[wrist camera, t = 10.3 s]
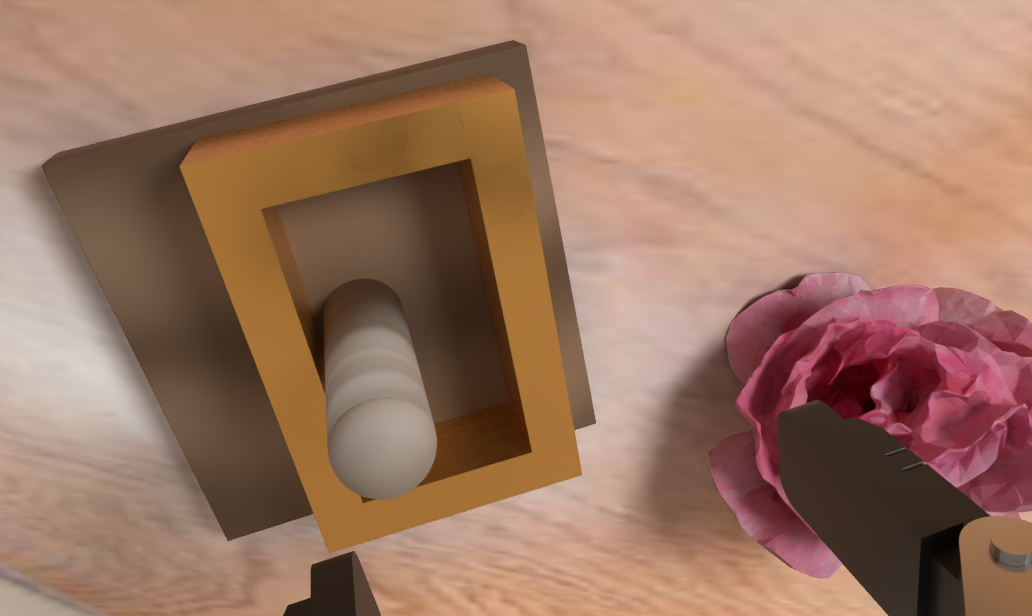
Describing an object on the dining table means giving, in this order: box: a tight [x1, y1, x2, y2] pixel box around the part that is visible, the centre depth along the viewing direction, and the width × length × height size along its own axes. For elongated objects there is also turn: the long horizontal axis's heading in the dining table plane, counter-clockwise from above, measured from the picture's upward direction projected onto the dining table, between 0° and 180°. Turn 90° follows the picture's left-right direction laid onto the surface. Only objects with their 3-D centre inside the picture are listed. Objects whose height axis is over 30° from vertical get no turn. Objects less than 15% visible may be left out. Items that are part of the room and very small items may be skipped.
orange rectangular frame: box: [180, 73, 582, 553], centre depth 22 cm, size 12×8×3 cm, turn 10°
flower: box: [709, 272, 1032, 578], centre depth 27 cm, size 11×10×10 cm
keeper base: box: [41, 40, 596, 541], centre depth 20 cm, size 13×13×10 cm
